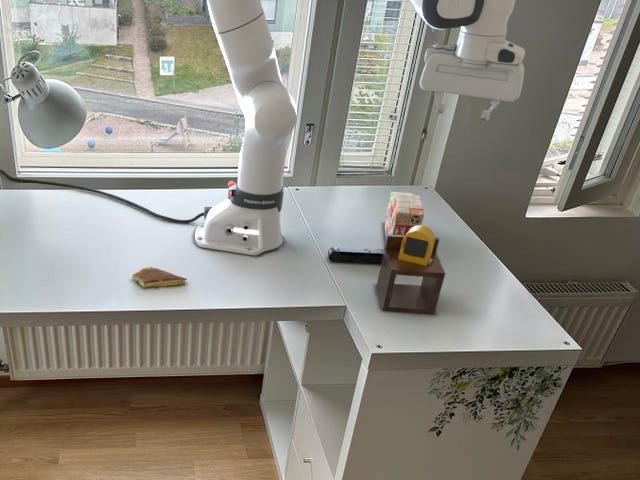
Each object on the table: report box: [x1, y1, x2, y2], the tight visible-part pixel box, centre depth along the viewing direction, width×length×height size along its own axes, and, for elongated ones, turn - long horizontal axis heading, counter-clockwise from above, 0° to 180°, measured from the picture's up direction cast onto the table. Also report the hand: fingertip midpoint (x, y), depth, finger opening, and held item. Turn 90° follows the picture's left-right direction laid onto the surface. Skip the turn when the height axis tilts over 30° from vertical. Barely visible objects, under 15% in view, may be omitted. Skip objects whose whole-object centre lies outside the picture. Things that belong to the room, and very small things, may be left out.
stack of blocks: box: [384, 191, 425, 240], centre depth 176 cm, size 21×6×12 cm, turn 168°
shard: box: [131, 266, 188, 289], centre depth 157 cm, size 11×8×2 cm
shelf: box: [376, 234, 446, 315], centre depth 150 cm, size 11×11×13 cm
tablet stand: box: [327, 246, 384, 265], centre depth 168 cm, size 18×3×3 cm, turn 86°
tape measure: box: [398, 224, 436, 266], centre depth 146 cm, size 7×4×7 cm, turn 60°
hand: (461, 116), depth 150 cm, fingers open, 8 cm apart
